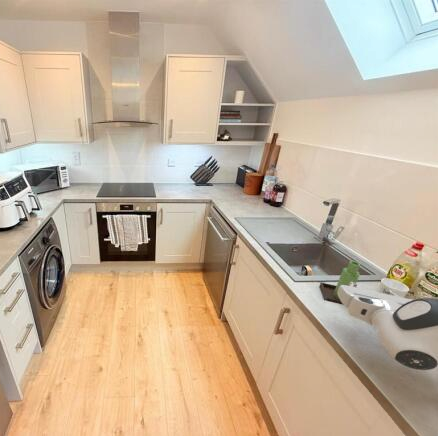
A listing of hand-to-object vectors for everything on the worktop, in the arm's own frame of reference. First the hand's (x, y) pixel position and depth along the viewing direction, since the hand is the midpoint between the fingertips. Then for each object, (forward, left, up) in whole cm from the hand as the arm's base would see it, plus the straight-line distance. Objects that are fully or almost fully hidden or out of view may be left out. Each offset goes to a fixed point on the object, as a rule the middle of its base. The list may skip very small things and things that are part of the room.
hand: (368, 287), depth 82 cm
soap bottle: (+1, -13, -15) cm, 20 cm away
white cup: (-15, -16, -16) cm, 28 cm away
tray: (+1, -13, -16) cm, 21 cm away
